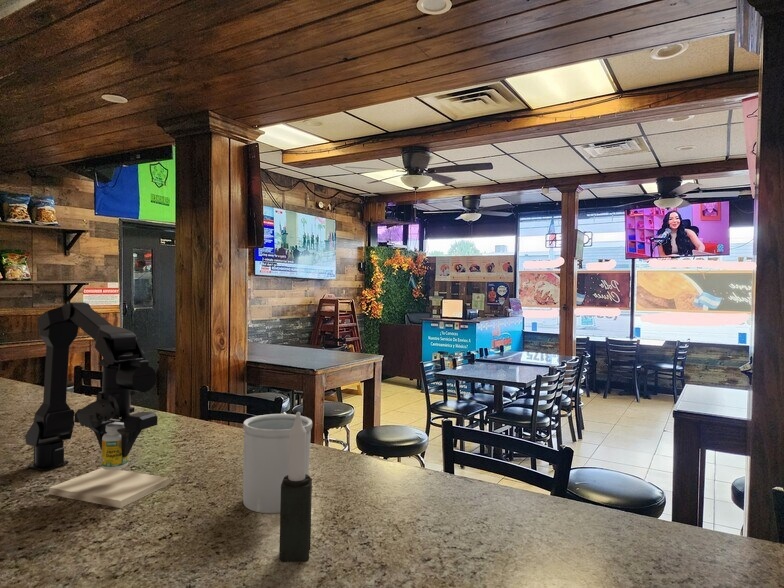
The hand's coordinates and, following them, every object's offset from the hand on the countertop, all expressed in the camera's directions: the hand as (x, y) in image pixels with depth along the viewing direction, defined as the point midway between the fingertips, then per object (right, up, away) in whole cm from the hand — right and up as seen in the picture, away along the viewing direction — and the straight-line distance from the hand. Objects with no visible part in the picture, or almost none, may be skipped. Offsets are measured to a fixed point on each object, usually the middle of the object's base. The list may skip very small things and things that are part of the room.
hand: (115, 455), depth 115 cm
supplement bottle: (0, -3, 0) cm, 3 cm away
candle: (+46, -9, -26) cm, 54 cm away
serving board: (-1, -8, 0) cm, 8 cm away
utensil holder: (+38, -9, -4) cm, 39 cm away
